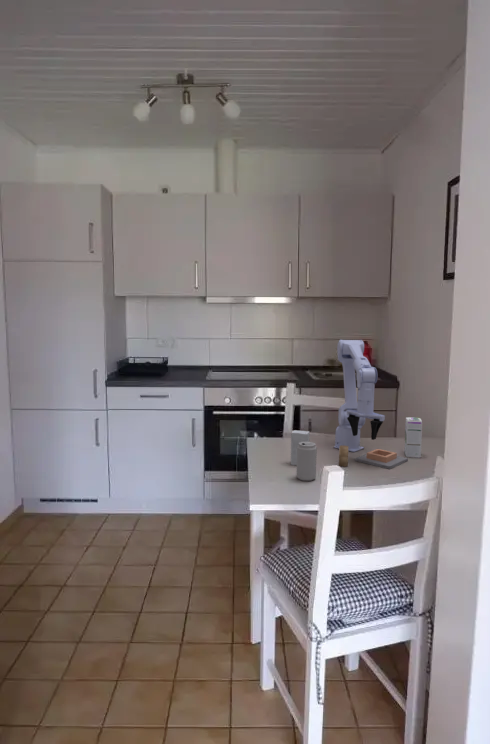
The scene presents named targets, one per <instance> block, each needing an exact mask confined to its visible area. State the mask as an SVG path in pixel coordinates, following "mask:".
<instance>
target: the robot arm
mask: <svg viewBox="0 0 490 744" xmlns="http://www.w3.org/2000/svg"><path fill="white" fill-rule="evenodd" d="M336 345H337V348H336V350H337V352H336V353H337V360H338V362H340V363H341V365H342V373H343V374H342V375H343V389H344V403H343V404H341V405H340V406H339V408H338V416H337V417H338V418H337V419H338V424H339V425H338V426H337V427H336V429H335V434H334V435H335V439H334V440H335V441H334V446H333V449H334V448H335V449H339V446H341V445H345V446H348V447H349V448H348V452H352V453H355V452H358V451H360V450H363V449H365V447H364V446H361V429H362V428H363V427H364V425H365V424H366V419H369V420H370V421H369V423H370V427H371V437H370V438H371V440H373V441H374V440H377V436H378V432H379V430H380V428H381V426H382V424H383V423H384V422H385V420H386V419H385V417H386V415H385V414H380V413H376V412H375V411H374V410H375V409H374V407H375V406H374V405H375V385H376V383H377V382H378V370H377V368H376V367H374V366H372V365H371V363H370V360H368V357H366V356H364V353H365V342H364V341H363V339H339V341H338V342H337V344H336ZM357 388H358V389H357Z"/></svg>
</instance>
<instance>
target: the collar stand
mask: <svg viewBox="0 0 490 744" xmlns="http://www.w3.org/2000/svg"><path fill="white" fill-rule="evenodd" d="M408 459H409V457H406V456H405V457H403V456H400V455H398V452H394V451H389V450H386V449H379V448H376V449H373V450H370V451H368V452H366V453H364V454H362V455H359V456H357V457H355V458H354V461H355V462H359V463H363V464H366V465H371V466H375V467H378V468H383V469H388V470H392V469H393V468H396V467H398V466H399V465H402V464H403V463H407V462H408Z"/></svg>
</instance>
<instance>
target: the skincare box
mask: <svg viewBox="0 0 490 744" xmlns="http://www.w3.org/2000/svg"><path fill="white" fill-rule="evenodd" d="M310 433H311V432H310V430H309V431H308V430H307V431H306V430H296V429H295V430H292V432H291V433H290V442H291V443H290V465H291V466H297V447H298V445H299V443H300V442H310V435H311V434H310Z"/></svg>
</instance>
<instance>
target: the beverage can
mask: <svg viewBox="0 0 490 744" xmlns="http://www.w3.org/2000/svg"><path fill="white" fill-rule="evenodd" d="M316 445H317V443H315V442H313V441H309V442H300V443H299V445H298V447H297V465H296V478H298V480H300V481H302V482H310V481H313V480H314V479H316V477H317V452H318V451H317V450H318V447H317V446H316Z"/></svg>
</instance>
